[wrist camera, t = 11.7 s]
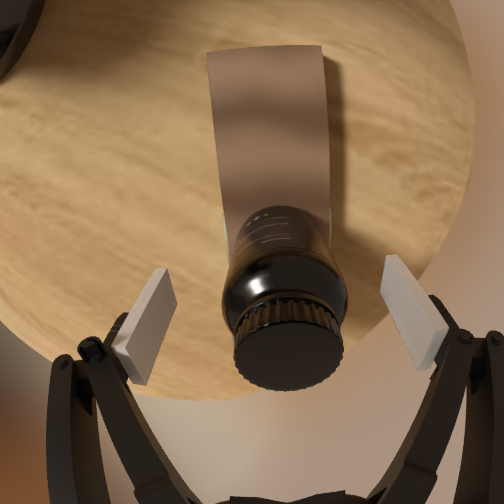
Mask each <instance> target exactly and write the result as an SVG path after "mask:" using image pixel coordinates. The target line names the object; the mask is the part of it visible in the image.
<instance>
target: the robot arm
mask: <svg viewBox="0 0 504 504" xmlns="http://www.w3.org/2000/svg"><path fill="white" fill-rule="evenodd" d="M43 2H44V0H0V79H1V78H2V77H3V76H4V75H5V74H6V73H7V72H8V71H9V70H10V69H11V67H12V66H13V65H14V63H15V62H16V61H17V59H18V58H19V56H20V54H21V53H22V51H23V49H24V48H25V46H26V44H27V42H28V40H29V39H30V37H31V35H32V32H33V30H34V28H35V26H36V23H37V21H38V18H39V16H40V13H41V10H42V6H43ZM380 295H381V296H382V298H383V300H384V302H385V304H386V306H387V308H388V310H389V312H390V314H391V316H392V318H393V320H394V322H395V324H396V326H397V328H398V330H399V332H400V334H401V336H402V338H403V340H404V343H405V345H406V347H407V349H408V351H409V353H410V355H411V358H412V360H413V362H414V364H415V367H416V369H417V371H420V370H425V369H428V368H430V367H431V365H432V363H433V361H435V363H436V365H437V367H436V369H435V370H434V372H433V374H432V376H431V377H430V380H431V381H430V384H429V386H428V389H427V391H426V394H425V396H424V399H423V402H422V404H421V406H420V408H419V410H418V413H417V415H416V417H415V419H414V421H413V423H412V425H411V427H410V430H409V432H408V434H407V435H406V437H405V439H404V441H403V443H402V445H401V447H400V449H399V451H398V452H397V454H396V456H395V458H394V459H393V461H392V463H391V464H390V466H389V468H388V469H387V471H386V473H385V474H384V476H383V477H382V479H381V480H380V482H379V483H378V484H377V485H376V487H375V488H374V489H373V490H372V491H371V493H370V494H369V495H368V497H367V498H366V499H365V498H363V497H359V496H356V495H349V494H348V495H347V494H345V490H343V491H337V492H330V493H322V494H316V495H313V496H310V497H307V498H304V499H301V500H297V501H294V502H289V503H285V502H279V501H274V500H269V499H264V498H259V497H235V496H230V500H228V501H223V502H219V503H216V504H425V502H426V501H427V499H428V497H429V495H430V493H431V491H432V489H433V487H434V485H435V483H436V481H437V475H436V471H437V468H438V466H439V464H440V462H441V459H442V457H443V455H444V452H445V450H446V447H447V445H448V442H449V440H450V437H451V434H452V431H453V428H454V426H455V423H456V419H457V416H458V413H459V410H460V407H461V403H462V399H463V396H464V392H465V388H466V385H467V399H466V400H467V402H466V403H467V404H466V424H465V435H464V445H463V453H462V460H461V466H460V472H459V478H458V483H457V488H456V492H455V497H454V502H453V504H504V336H503V335H502V334H501V333H500V332H498V331H490V332H488V334H487V335H486V337H485V338H474V336H473V335H472V334H471V333H470V332H469V331H467V330H465V329H459V327H458V325H457V324H456V322H455V321H454V319H453V318H452V316H451V315H450V313H448V311H447V309H446V308H445V307H444V305H443V303H442V302H441V301H440V300H439V299H438V298H437V297H435V296H434V295H427V294H426V293H425V291H424V290H423V288H422V287H421V286H420V284H419V283H418V281H417V280H416V279H415V277H414V276H413V275H412V273H411V272H410V271H409V269H408V268H407V267H406V265H405V264H404V263H403V261H402V260H401V259H400V258H399V256H398V255H397V254H396V255H386V259H385V265H384V271H383V277H382V282H381V288H380ZM176 306H177V301H176V298H175V294H174V291H173V287H172V284H171V280H170V276H169V273H168V269H167V268H156V269H155V270H154V272H153V274H152V275H151V277H150V279H149V280H148V282H147V284H146V285H145V287H144V288H143V290H142V292H141V294H140V295H139V297H138V299H137V300H136V302H135V304H134V305H133V307H132V309H131V311H130V312H129V313H126V312H124V313H123V314H122V315H120V316H119V317H118V318H117V320H116V321H115V323H114V325H113V326H112V328H111V330H110V332H109V333H108V335H107V337H106V339H105V340H104V342H103V343H102V342H101V340H100V339H99V338H98V337H96V336H91V337H88V338H86V339H84V340H82V341H81V342H80V344H79V345H78V347H77V351H78V353H79V355H80V356H81V358H82V359H83V360H77V361H74V360H73V358H72V357H71V356H70V355H68V354H63V355H60V356H59V357H57V358H56V359H55V360H54V362H53V364H52V369H51V376H50V384H49V395H48V406H47V427H46V462H47V479H48V489H49V498H50V504H111V502H110V498H109V494H108V489H107V484H106V479H105V474H104V468H103V462H102V456H101V448H100V441H99V432H98V421H97V408H96V401H97V404H98V406H99V409H100V412H101V414H102V417H103V420H104V423H105V425H106V428H107V430H108V433H109V435H110V437H111V439H112V442H113V444H114V446H115V449H116V451H117V453H118V455H119V457H120V459H121V462H122V464H123V466H124V467H125V470H126V472H127V474H128V476H129V477H130V479H131V481H132V483H133V485H134V487H135V490H134V495H135V497H136V499H137V501H138V503H139V504H202V502H201V501H200V500H199V499H198V498H197V496H196V495H195V494H194V493H193V492H192V491H191V490H190V489H189V487H188V486H187V485H186V483H185V482H184V480H183V479H182V478H181V476H180V475H179V473H178V472H177V470H176V469H175V467H174V466H173V464H172V463H171V462H170V460H169V459H168V457H167V455H166V454H165V452H164V450H163V449H162V447H161V446H160V444H159V442H158V441H157V439H156V437H155V436H154V434H153V432H152V431H151V429H150V427H149V425H148V423H147V421H146V420H145V418H144V416H143V414H142V412H141V410H140V408H139V407H138V405H137V403H136V401H135V399H134V397H133V395H132V393H131V390H130V388H129V386H128V385H127V383H126V382H127V380H128V377H129V378H130V380H131V381H132V383H133V384H138V385H147V382H148V379H149V377H150V374H151V371H152V368H153V366H154V363H155V360H156V358H157V355H158V352H159V350H160V347H161V344H162V342H163V339H164V336H165V334H166V331H167V329H168V326H169V324H170V321H171V319H172V316H173V314H174V311H175V309H176Z"/></svg>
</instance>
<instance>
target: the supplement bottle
mask: <svg viewBox="0 0 504 504" xmlns="http://www.w3.org/2000/svg"><path fill="white" fill-rule="evenodd" d="M347 307H348V293H347V289H346V285H345V282H344V280H343V277H342V275H341V273H340V270H339V268H338V266H337V264H336V261H335V259H334V257H333V255H332V253H331V250H330V248H329V246H328V244H327V242H326V240H325V238H324V236H323V234H322V232H321V230H320V228H319V226H318V225H317V223H316V222H315V221H314V220H313V218H312V217H310V216H309V215H308V214H307V213H305V212H304V211H302V210H300V209H298V208H295V207H291V206H285V205H276V206H270V207H266V208H263V209H261V210H259V211H257V212H255V213H254V214H252V215H251V216H250V217H249V218H248V219H247V220H246V221H245V222H244V224H243V225H242V227H241V228H240V230H239V232H238V235H237V238H236V242H235V245H234V249H233V253H232V257H231V261H230V265H229V269H228V273H227V277H226V281H225V285H224V290H223V295H222V314H223V318H224V321H225V323H226V325H227V327H228V329H229V331H230V332H231V333H232V335H233V336H234V343H235V345H234V356H233V358H234V361H235V367H236V368H237V369H238V371H239V373H240V374H241V375H243V377H244V379H246V380H249V382H250V383H252V384H255V385H257V386H258V387H262V388H265V389H267V390H274V391H285V392H286V391H296V390H300V389H306V388H308V387H311V386H314V385H316V384H318V383H321V382H322V381H323V380H324V379H326V378H328V377H330V375H331V374H332V373H334V372H335V370H336V368H337V367H338V366H339V365H340V361H341V360H342V359H343V352H344V346H343V339H342V336H341V332H340V327H341V325H342V323H343V321H344V318H345V316H346V312H347Z"/></svg>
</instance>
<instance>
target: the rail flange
mask: <svg viewBox="0 0 504 504" xmlns="http://www.w3.org/2000/svg"><path fill="white" fill-rule="evenodd" d="M207 63H208V74H209V85H210V95H211V105H212V115H213V124H214V133H215V142H216V151H217V160H218V169H219V177H220V185H221V193H222V201H223V209H224V213H223V215H222V216H223V224H224V231H225V239H226V246H227V253H228V260H229V265H230V261H231V257H232V253H233V249H234V245H235V242H236V238H237V235H238V232H239V230H240V228H241V227H242V225H243V224H244V222H245V221H246V220H247V219H248V218H249V217H250V216H251V215H252V214H254V213H255V212H257V211H259V210H261V209H263V208H266V207H270V206H276V205H285V206H291V207H295V208H298V209H300V210H302V211H304V212H305V213H307V214H308V215H309V216H310V217H312V218H313V220H314V221H315V222H316V223H317V225H318V226H319V228H320V230H321V232H322V234H323V236H324V238H325V240H326V242H327V244H328V246H329V248H330V250H331V225H332V209H331V207H330V153H329V128H328V111H327V97H326V85H325V74H324V65H323V56H322V47H321V46H316V45H283V46H262V47H249V48H239V49H230V50H223V51H216V52H209V53H207ZM232 340H233V345H235V343H234V336H233V335H232Z"/></svg>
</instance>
